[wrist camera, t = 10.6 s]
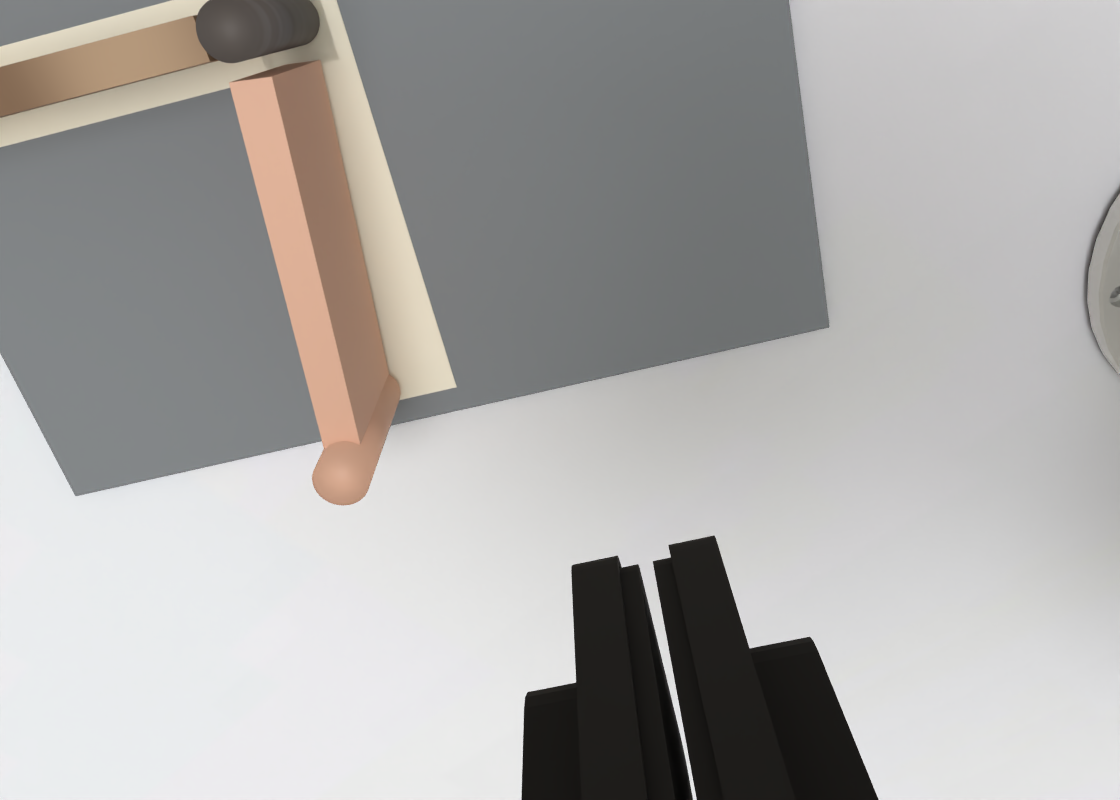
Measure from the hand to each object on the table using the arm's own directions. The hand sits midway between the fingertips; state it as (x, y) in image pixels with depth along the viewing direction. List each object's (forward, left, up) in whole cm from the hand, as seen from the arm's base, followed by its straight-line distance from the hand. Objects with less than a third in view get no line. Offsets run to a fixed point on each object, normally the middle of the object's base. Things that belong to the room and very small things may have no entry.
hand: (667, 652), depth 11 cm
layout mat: (+8, -4, -25) cm, 27 cm away
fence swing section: (+9, 0, -24) cm, 26 cm away
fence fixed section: (+15, -8, -25) cm, 30 cm away
